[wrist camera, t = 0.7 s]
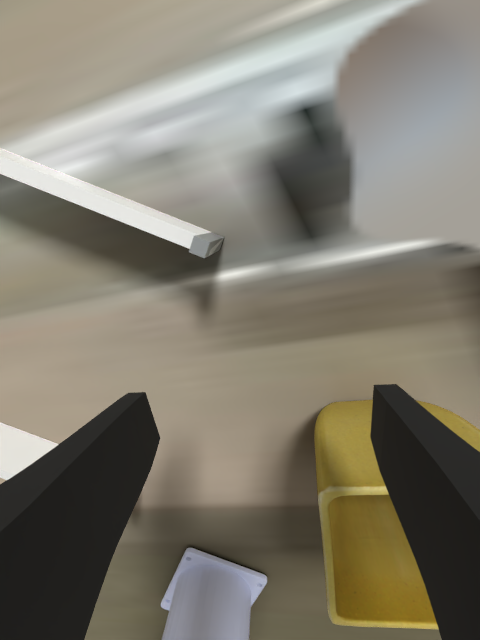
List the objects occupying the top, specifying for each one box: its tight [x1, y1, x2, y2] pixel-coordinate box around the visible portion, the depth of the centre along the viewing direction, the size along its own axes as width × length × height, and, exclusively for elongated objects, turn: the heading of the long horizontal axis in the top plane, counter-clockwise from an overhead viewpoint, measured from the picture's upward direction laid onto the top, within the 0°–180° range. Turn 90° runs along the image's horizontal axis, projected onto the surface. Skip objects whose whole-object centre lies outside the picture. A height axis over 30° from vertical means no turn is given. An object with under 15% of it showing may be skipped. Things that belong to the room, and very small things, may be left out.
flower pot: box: [314, 400, 480, 629], centre depth 17 cm, size 9×9×9 cm
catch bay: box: [0, 148, 224, 480], centre depth 19 cm, size 22×21×4 cm
